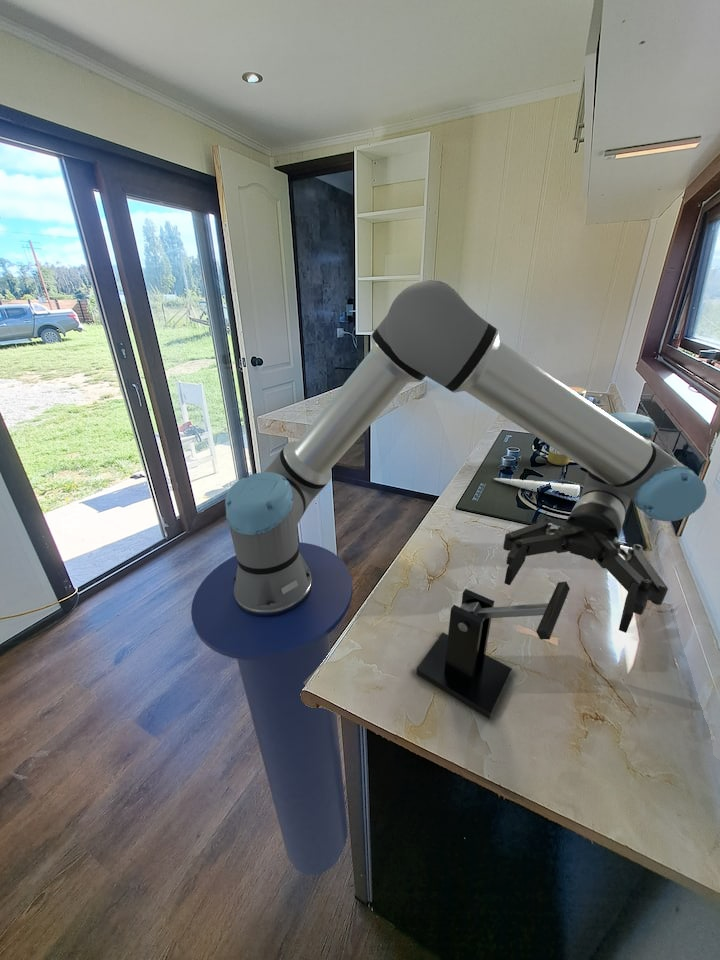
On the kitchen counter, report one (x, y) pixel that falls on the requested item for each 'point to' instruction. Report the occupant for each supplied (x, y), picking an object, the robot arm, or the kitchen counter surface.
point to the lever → (528, 610)
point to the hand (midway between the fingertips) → (562, 598)
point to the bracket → (466, 660)
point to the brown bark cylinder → (555, 455)
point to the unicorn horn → (528, 484)
